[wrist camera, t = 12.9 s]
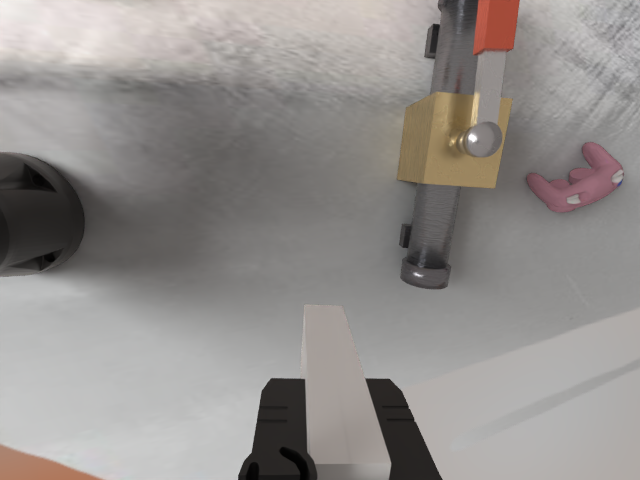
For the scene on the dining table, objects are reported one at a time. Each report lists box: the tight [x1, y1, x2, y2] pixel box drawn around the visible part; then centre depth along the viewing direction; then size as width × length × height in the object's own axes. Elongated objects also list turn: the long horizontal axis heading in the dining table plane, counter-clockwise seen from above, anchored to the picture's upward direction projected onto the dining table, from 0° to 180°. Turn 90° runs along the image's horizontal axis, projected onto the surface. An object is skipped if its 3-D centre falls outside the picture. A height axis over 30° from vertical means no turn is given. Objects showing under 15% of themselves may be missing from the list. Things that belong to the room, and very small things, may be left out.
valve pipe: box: [397, 0, 513, 289], centre depth 35 cm, size 8×34×11 cm, turn 176°
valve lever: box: [462, 0, 520, 158], centre depth 28 cm, size 16×3×2 cm, turn 0°
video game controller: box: [527, 142, 624, 212], centre depth 40 cm, size 10×5×7 cm, turn 119°
